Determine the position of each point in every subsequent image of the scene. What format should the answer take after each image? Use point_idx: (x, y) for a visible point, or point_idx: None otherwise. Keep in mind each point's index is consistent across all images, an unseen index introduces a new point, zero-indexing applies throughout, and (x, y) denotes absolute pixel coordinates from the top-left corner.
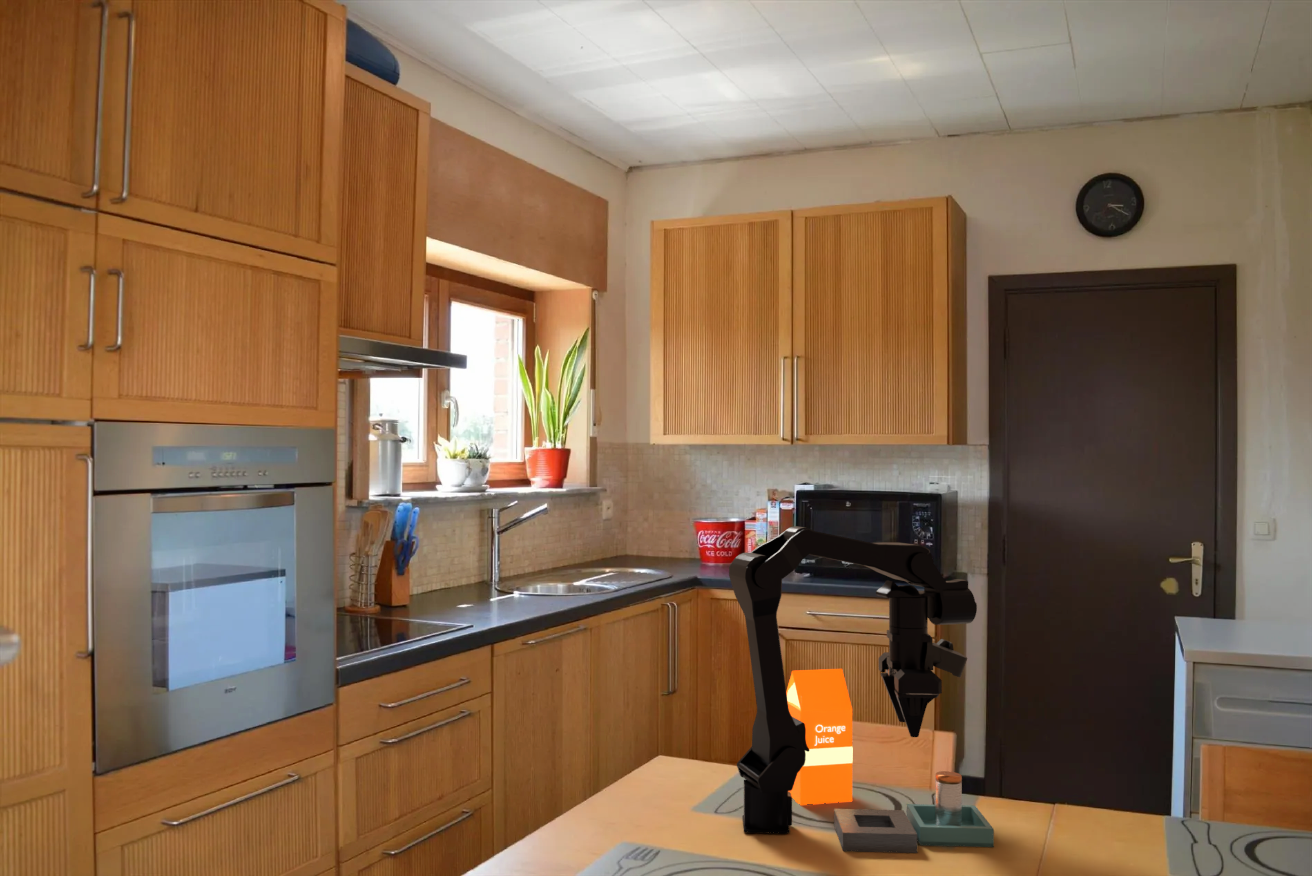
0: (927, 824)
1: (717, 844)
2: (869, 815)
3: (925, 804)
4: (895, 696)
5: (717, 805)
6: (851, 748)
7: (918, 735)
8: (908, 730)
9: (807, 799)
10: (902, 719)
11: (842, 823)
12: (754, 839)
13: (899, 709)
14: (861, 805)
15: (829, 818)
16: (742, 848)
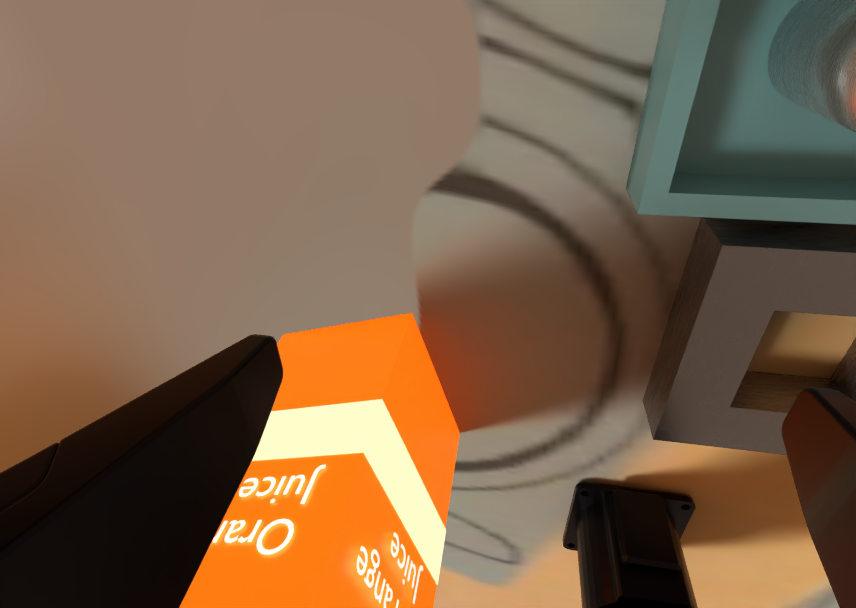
0: (732, 127)
1: (717, 594)
2: (746, 367)
3: (661, 132)
4: (154, 594)
5: (468, 553)
6: (367, 448)
7: (848, 398)
8: (806, 489)
9: (452, 430)
10: (271, 373)
11: None
12: (703, 546)
13: (234, 457)
14: (446, 295)
15: (569, 396)
16: (756, 571)
